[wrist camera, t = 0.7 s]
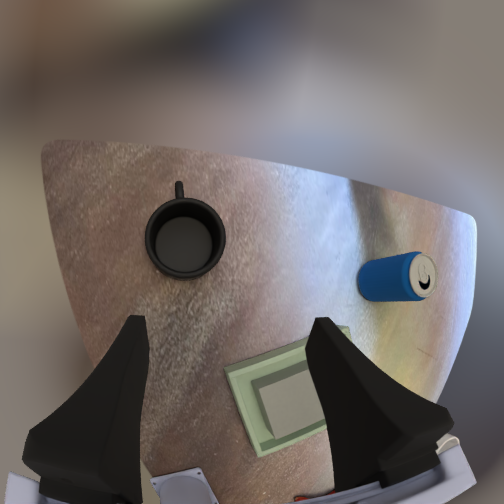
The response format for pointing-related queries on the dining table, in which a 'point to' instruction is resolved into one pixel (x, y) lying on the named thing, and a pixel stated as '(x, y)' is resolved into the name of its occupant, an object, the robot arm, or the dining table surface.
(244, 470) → the dining table surface
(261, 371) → the tray
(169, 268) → the mug
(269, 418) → the grey block
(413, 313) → the dining table surface
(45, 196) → the dining table surface
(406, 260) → the beverage can
